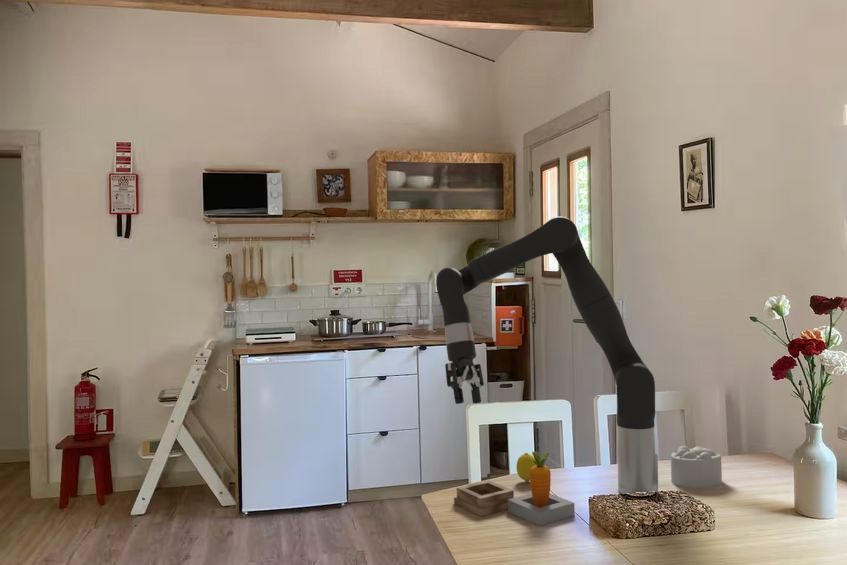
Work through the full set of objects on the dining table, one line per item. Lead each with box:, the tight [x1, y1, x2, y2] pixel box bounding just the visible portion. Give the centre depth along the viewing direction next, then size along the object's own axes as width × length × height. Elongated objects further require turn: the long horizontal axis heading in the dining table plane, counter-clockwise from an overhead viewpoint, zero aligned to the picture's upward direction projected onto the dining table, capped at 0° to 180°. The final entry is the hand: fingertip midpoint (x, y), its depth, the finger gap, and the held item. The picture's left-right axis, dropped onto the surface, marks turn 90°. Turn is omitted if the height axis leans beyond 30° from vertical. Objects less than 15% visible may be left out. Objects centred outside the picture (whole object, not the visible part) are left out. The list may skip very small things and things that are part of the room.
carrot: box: [529, 450, 552, 508], centre depth 159 cm, size 5×5×15 cm
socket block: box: [507, 492, 576, 527], centre depth 159 cm, size 11×11×3 cm
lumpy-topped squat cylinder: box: [670, 445, 723, 489], centre depth 180 cm, size 10×13×9 cm
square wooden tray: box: [453, 479, 515, 517], centre depth 166 cm, size 11×11×4 cm
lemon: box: [515, 452, 536, 483], centre depth 183 cm, size 6×6×8 cm
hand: (468, 403), depth 174 cm, fingers open, 8 cm apart
